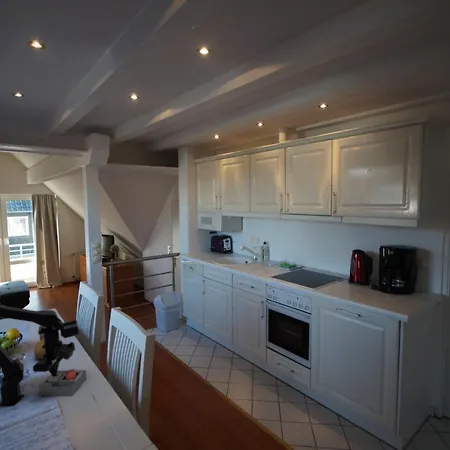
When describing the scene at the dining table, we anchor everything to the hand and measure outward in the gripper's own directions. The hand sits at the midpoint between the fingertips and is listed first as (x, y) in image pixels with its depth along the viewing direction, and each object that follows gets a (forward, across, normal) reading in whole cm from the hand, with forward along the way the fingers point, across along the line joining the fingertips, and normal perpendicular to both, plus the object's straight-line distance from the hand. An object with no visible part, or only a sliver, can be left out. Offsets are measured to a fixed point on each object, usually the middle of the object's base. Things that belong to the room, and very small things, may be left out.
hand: (54, 376), depth 135 cm
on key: (+5, 0, 0) cm, 5 cm away
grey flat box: (+5, 0, -4) cm, 6 cm away
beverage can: (+5, +40, +27) cm, 49 cm away
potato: (+5, +27, +21) cm, 35 cm away
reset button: (+3, 0, -7) cm, 8 cm away
